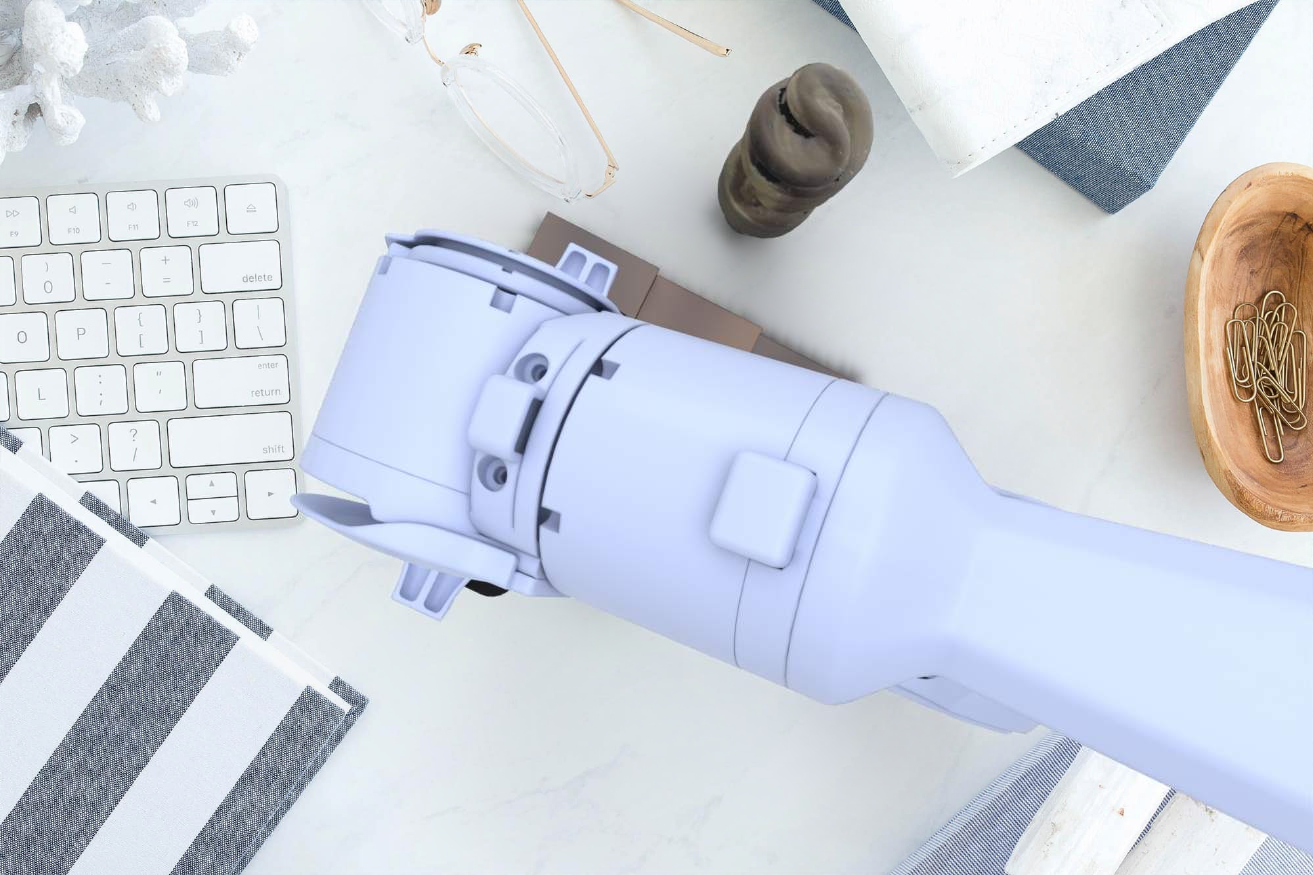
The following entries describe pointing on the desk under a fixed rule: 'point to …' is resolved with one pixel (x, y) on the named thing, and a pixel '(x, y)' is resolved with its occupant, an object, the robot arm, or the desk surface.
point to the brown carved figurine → (796, 151)
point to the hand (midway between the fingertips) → (518, 436)
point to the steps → (663, 296)
